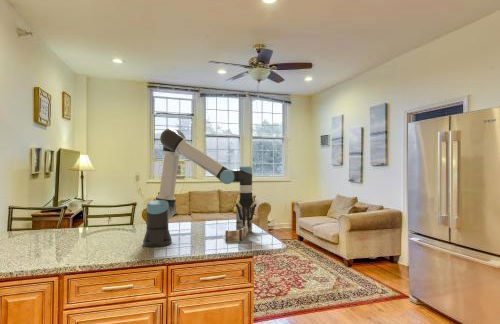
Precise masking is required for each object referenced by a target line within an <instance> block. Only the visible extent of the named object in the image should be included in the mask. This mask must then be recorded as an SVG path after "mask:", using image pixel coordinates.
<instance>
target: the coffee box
mask: <svg viewBox="0 0 500 324" xmlns="http://www.w3.org/2000/svg"><path fill="white" fill-rule="evenodd" d="M239 207H240V210H241V214H242V218H243V207H242V206H239ZM252 209H253V206H250V217H251V213H252ZM245 219H246V220H247V208H245ZM235 220H236V221H235V226H236V227H235V229H236V230H240V229H242V228H244V227H245V226H243V220H240V217H239V213H238V209H237V207H236V218H235ZM252 220H253V219H252ZM252 220H250V225H249V226H248V232H247V233H250V232H252V231H253V221H252Z"/></svg>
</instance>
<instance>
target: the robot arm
mask: <svg viewBox="0 0 500 324" xmlns="http://www.w3.org/2000/svg"><path fill="white" fill-rule="evenodd" d="M159 138H160V139H159V141H160V144H161V145H162V152H163V154H164V158H163V164H162V172H161V179H160V187H159V193H158V194H157V195H156V197H155V200H151V201H148V203H146V209H145V211H146V232H145V234H144V236H143V237H144V238H143V241H142V245H143V246H144V247H147V248H161V247H167V246H169V245H171V244H172V236H171V234H170V230H169V220H170V219H172V218H173V217H174V216H175V214H176V212H177V205H176V203H177V198H176V197H175V191H176V183H177V176H178V169H179V163H180V157H181V156H183V157H184V158H186V159H188V160H189V161H191V162H192V163H193V164H195V165H197V166H198V167H200V168H201V169H202V170H205V171H206V172H207V173H209V174H210V175H212V176H213V177H215V178H216V179H218V180H219V182H220V183H223V184H225V185H231V184H232V183H239V201H238V202H237V203H236V204H235V207H236V208H237V209H238V213H239V217H240V220H243V226H245V232H247V233H249V232H248V226H249V225H250V220H253V218H254V213H255V210H256V207H257V205H258V204H257V203H255V202H254V200H253V167H252V166H249V165H248V166H247V165H243V166H242V165H240V166H239V169H229V168H227V167H225V166H224V165H223V164H221V163H220V162H218V161H217V160H215V159H214V158H212V157H210V156H209V155H207V154H205V152H203V151H201V150H200V149H199V148H197V147H196V146H194V145H193V144H191V143H189V142H188V141H187V140H186V136H185V135H184V132H181V131H180V130H178V129H174V128H171V127H170V128H166V129H165V130H163V131H162V132H161V134H160V137H159ZM240 207H243V218H242V214H241V210H240ZM250 207H252V213H251V217H250ZM245 208H247V220H246V219H245Z"/></svg>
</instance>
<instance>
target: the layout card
mask: <svg viewBox="0 0 500 324" xmlns="http://www.w3.org/2000/svg"><path fill="white" fill-rule="evenodd" d="M221 237H222V239H223V240H224V242H225V244H230V243H233V244H234V243H246V242H247V243H248V242H249V243H250V242H252V243H253V242H261V240H260V239H259V238H258V237H257V236H256V235H255V234H247V236H246V237H244V238H243V239H242V241H239V240H236V241H227V242H226V241H225V235H221Z"/></svg>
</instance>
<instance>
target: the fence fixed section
mask: <svg viewBox="0 0 500 324" xmlns="http://www.w3.org/2000/svg"><path fill="white" fill-rule="evenodd" d="M224 232H225V235H224V236H225V241H226V242H227V241H236V240H239V241H242V230H241V229H240V230H225V231H224ZM225 241H224V242H225ZM226 242H225V243H226Z"/></svg>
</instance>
